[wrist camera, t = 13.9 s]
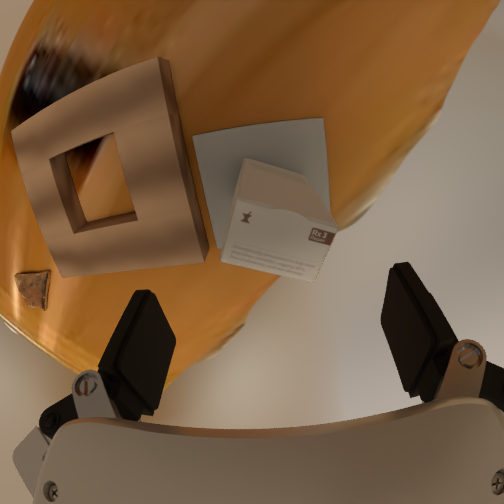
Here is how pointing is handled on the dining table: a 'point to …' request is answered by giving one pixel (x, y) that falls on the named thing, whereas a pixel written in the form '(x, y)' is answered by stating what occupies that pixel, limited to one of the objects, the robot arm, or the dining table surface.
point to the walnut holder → (135, 170)
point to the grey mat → (263, 150)
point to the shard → (34, 288)
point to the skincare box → (277, 223)
